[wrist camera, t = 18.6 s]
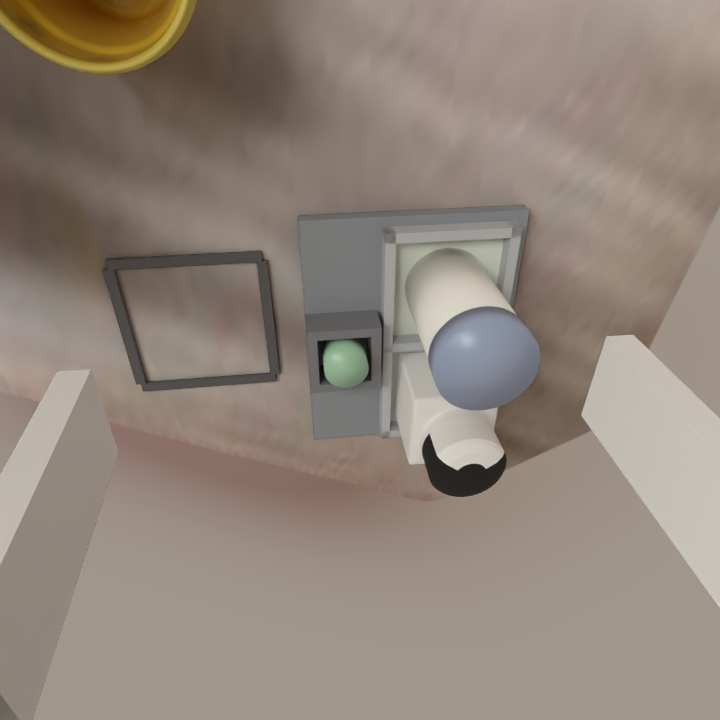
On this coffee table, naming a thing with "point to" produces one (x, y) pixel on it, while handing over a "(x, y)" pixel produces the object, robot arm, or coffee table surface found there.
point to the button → (345, 362)
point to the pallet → (386, 296)
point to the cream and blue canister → (469, 331)
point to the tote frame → (190, 261)
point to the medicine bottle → (445, 433)
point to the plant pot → (97, 31)
